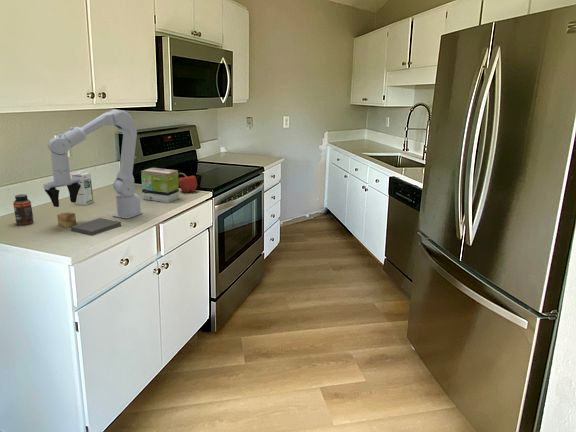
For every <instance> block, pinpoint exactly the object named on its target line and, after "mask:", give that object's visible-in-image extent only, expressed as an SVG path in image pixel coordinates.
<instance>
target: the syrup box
mask: <svg viewBox="0 0 576 432" xmlns="http://www.w3.org/2000/svg"><path fill="white" fill-rule="evenodd" d="M73 178H80V182H81V183H79V184H80V185H81V187H80V189H79V191H78V194H77V199H76V203H75V204H76V205H81V206H87V205H90V204H92V203H94V194H93V185H92V176H91V172H89V171H78V172H74V173H72V174H71V179H73Z"/></svg>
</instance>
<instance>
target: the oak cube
mask: <svg viewBox="0 0 576 432" xmlns="http://www.w3.org/2000/svg"><path fill="white" fill-rule="evenodd" d="M56 216H57V224H58V226H61V227H65V228H68V227H72V226H75V225H77V218H76V217H77V216H76V213H75V212H70V211H65V212H61V213H57V214H56Z"/></svg>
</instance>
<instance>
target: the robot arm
mask: <svg viewBox="0 0 576 432" xmlns="http://www.w3.org/2000/svg"><path fill="white" fill-rule="evenodd" d="M134 123H135V122H134V120H133V117H132V116H131V115H130V113H129V112H128V111H126V110H123V109H122V110H120V109H116V108H115V109H114V108H113V109H110V110H109V111H105V112H104V113H102V114H101V115H99V116H97V117H95V118H94V119H92V120H91V121H89V122H88V123H86V124H85V125H83V126H82V127H80V126H71V127H69V130H67V131H65V132H63V133H62V134H61V133H60V134H59V133H58V135H57V137H53V138H51V139H50V140H49V141H48V144H47V148H48V149H49V151H50V158H51V160H50V161H51V169H52V176H53V181H50V182H47V183H44V184H43V189H44V192H45V193H46V194H47V196H48V197H49V199H50V201H51V203H52V205H53V207H54V208H59V207H60V200H59V195H60V191H61V190H60V189H57V188H61V187H67V190H68V194H69V200H70V203H76V199H77V194H78V191H79V189H80V187H81V185H80V184H79V183H81V182H80V178H73V179H72V178H71V171H70V161H69V157H68V152H69V150H70V149H72V148H74V147H76V146H77V145H79V144H81V143H82V142H84V141H85V140H86V139H87V136H88V135H89V134H91V133H94V132H95V131H97V130H99V129H100V128H103V127H104V126H114V127H116V128H117V129H118V130H119V131H120V132H121V134H122V141H121V143H122V144H121V151H120V152H121V153H120V159H119V160H120V162H119V171H118V172H117V174H116V177H115V180H114V182H113V185H112V186H113V189H114V191H115V192H116V193H115V201H116V213H114V214H113V215H112V217H117V218H120V219H121V218H122V219H130V218H133V217H137V216H140V215H142V214H143V212H142V211H141V210H142V209H141V199H140V196H139V195H138V194H137V193H135V192H136V189H137V188H136V185H135V178H134V175H133V171H134V164H135V163H134V162H135V155H136V147H137V145H136V144H137V136H138V130H137V128H136V125H135V124H134Z"/></svg>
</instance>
